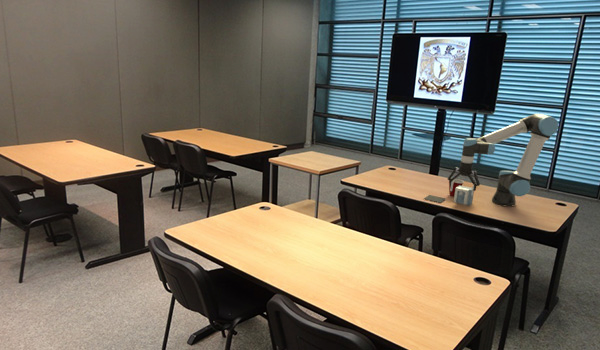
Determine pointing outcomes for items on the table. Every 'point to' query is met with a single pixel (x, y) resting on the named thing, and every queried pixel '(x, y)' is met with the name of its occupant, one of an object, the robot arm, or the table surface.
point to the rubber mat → (435, 198)
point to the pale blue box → (462, 191)
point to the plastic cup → (455, 184)
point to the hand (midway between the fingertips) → (461, 193)
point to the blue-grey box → (462, 196)
